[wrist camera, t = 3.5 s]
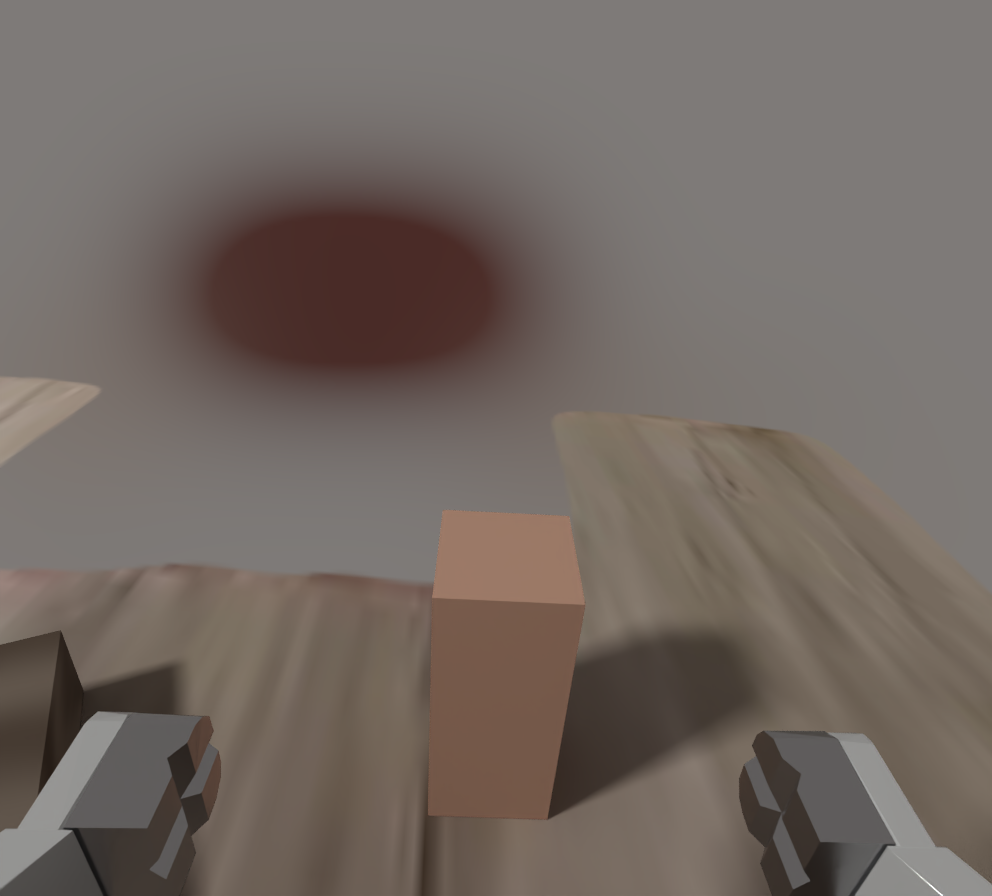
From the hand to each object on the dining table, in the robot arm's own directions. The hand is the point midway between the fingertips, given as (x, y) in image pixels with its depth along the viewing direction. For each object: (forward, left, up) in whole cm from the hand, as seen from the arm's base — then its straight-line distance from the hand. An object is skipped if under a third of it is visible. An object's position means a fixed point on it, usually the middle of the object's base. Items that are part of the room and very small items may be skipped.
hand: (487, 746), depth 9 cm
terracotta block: (+5, -11, -18) cm, 21 cm away
